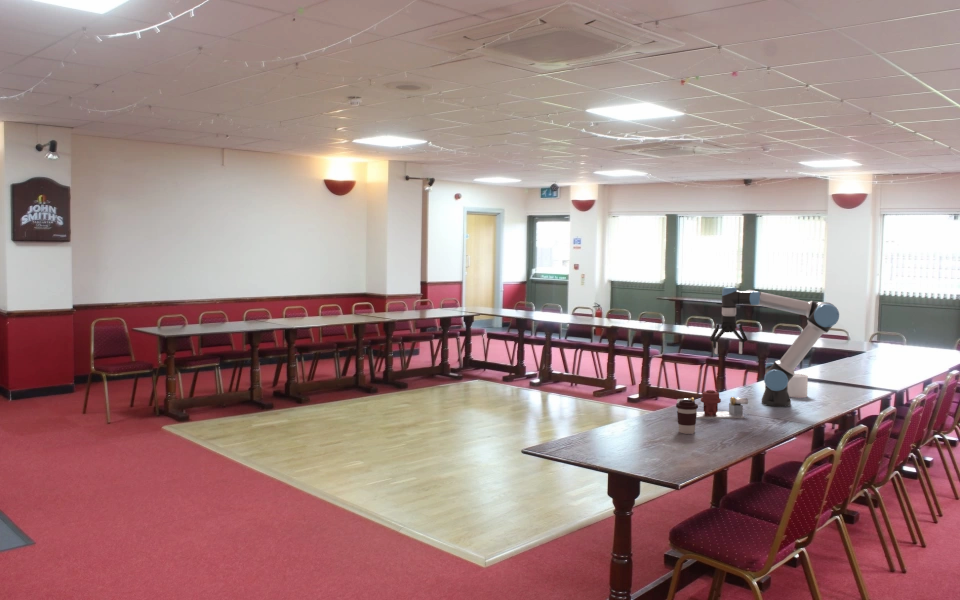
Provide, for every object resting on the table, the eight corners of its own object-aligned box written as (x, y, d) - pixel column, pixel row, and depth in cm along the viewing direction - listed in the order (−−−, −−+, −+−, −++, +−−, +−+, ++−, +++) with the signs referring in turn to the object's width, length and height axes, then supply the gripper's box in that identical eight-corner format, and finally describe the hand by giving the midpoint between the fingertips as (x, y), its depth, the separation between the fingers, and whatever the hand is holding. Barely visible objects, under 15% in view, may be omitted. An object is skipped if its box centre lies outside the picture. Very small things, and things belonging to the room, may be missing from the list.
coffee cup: (701, 432, 356) (701, 400, 355) (690, 436, 349) (691, 404, 348) (682, 428, 363) (683, 398, 362) (671, 432, 356) (672, 401, 355)
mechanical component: (719, 412, 393) (721, 416, 384) (699, 411, 395) (701, 416, 386) (719, 389, 392) (722, 392, 383) (699, 388, 394) (701, 392, 385)
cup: (781, 395, 441) (782, 375, 440) (791, 393, 449) (791, 373, 448) (801, 398, 432) (802, 378, 432) (810, 395, 440) (811, 375, 439)
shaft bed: (742, 413, 396) (742, 394, 395) (751, 418, 384) (751, 399, 383) (674, 414, 395) (674, 395, 394) (681, 419, 383) (681, 400, 382)
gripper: (748, 314, 416) (748, 352, 417) (704, 314, 415) (703, 353, 416) (754, 315, 408) (753, 354, 410) (708, 316, 407) (708, 355, 409)
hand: (728, 353), depth 413 cm, fingers open, 13 cm apart
